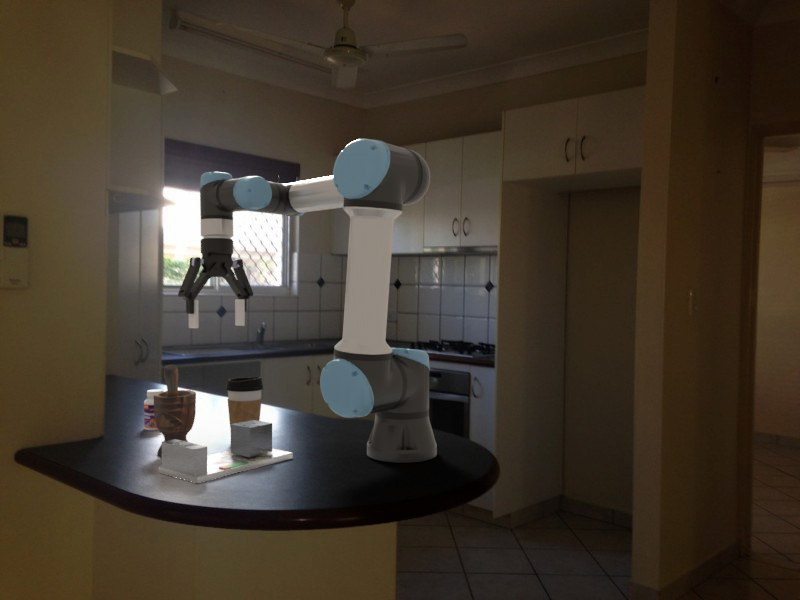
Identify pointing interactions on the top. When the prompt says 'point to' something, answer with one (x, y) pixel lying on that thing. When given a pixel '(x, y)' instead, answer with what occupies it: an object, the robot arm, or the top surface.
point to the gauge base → (210, 461)
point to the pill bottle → (150, 410)
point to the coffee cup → (244, 399)
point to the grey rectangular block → (251, 438)
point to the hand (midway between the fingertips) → (217, 327)
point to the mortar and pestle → (174, 408)
